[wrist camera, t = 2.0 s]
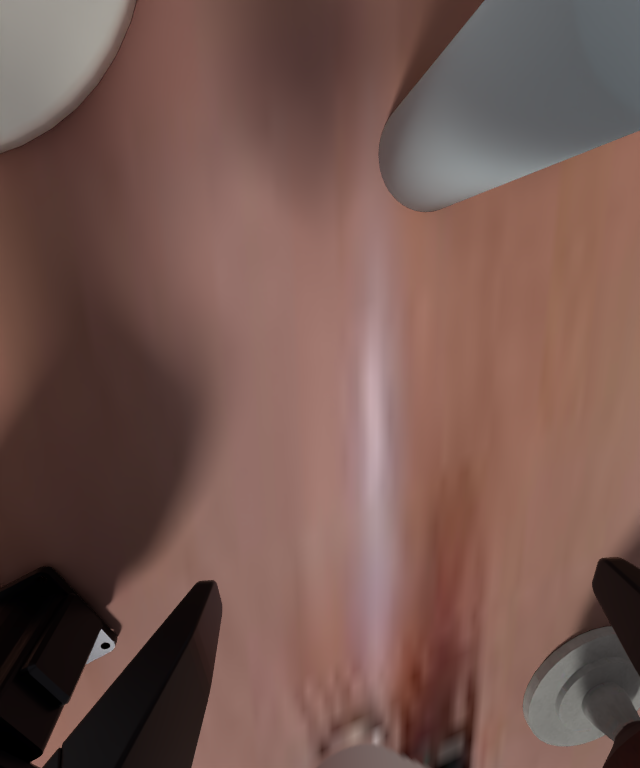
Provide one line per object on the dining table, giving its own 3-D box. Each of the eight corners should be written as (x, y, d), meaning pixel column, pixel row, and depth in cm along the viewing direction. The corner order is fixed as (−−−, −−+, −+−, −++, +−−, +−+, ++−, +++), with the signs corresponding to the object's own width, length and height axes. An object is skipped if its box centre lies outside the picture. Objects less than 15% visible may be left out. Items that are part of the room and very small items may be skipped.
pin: (400, 229, 18) (600, 156, 8) (362, 121, 17) (545, -152, 6) (488, 185, 18) (797, 57, 8) (458, 75, 17) (793, -267, 6)
